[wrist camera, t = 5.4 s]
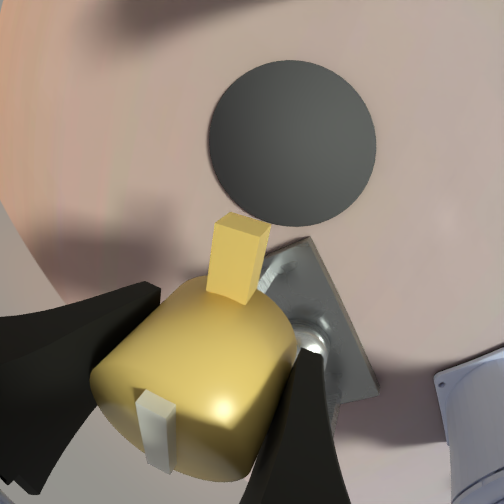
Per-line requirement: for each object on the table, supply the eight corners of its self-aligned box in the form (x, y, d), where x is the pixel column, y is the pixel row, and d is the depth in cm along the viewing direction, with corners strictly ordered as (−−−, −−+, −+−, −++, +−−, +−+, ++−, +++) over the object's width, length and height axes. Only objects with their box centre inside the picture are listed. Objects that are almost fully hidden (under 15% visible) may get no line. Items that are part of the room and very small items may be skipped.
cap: (266, 427, 11) (224, 520, 7) (167, 385, 12) (108, 461, 8) (336, 244, 7) (296, 377, 4) (174, 196, 8) (46, 263, 5)
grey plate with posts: (379, 387, 20) (375, 437, 16) (295, 405, 23) (279, 450, 19) (310, 236, 18) (291, 271, 14) (215, 276, 21) (179, 312, 17)
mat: (404, 185, 15) (405, 186, 15) (259, 248, 19) (257, 250, 19) (320, 33, 13) (319, 31, 13) (185, 116, 17) (183, 116, 17)
